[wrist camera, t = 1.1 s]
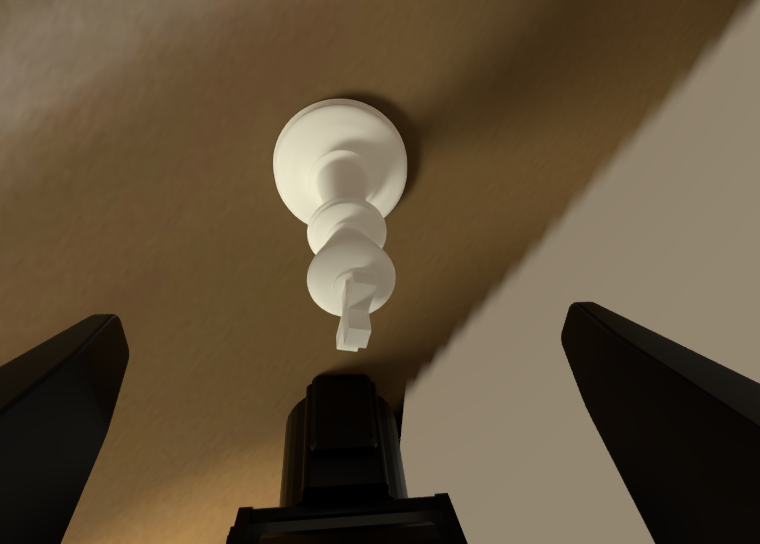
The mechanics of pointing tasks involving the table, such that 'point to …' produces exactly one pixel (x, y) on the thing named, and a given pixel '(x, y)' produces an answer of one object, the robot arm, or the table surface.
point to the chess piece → (344, 205)
